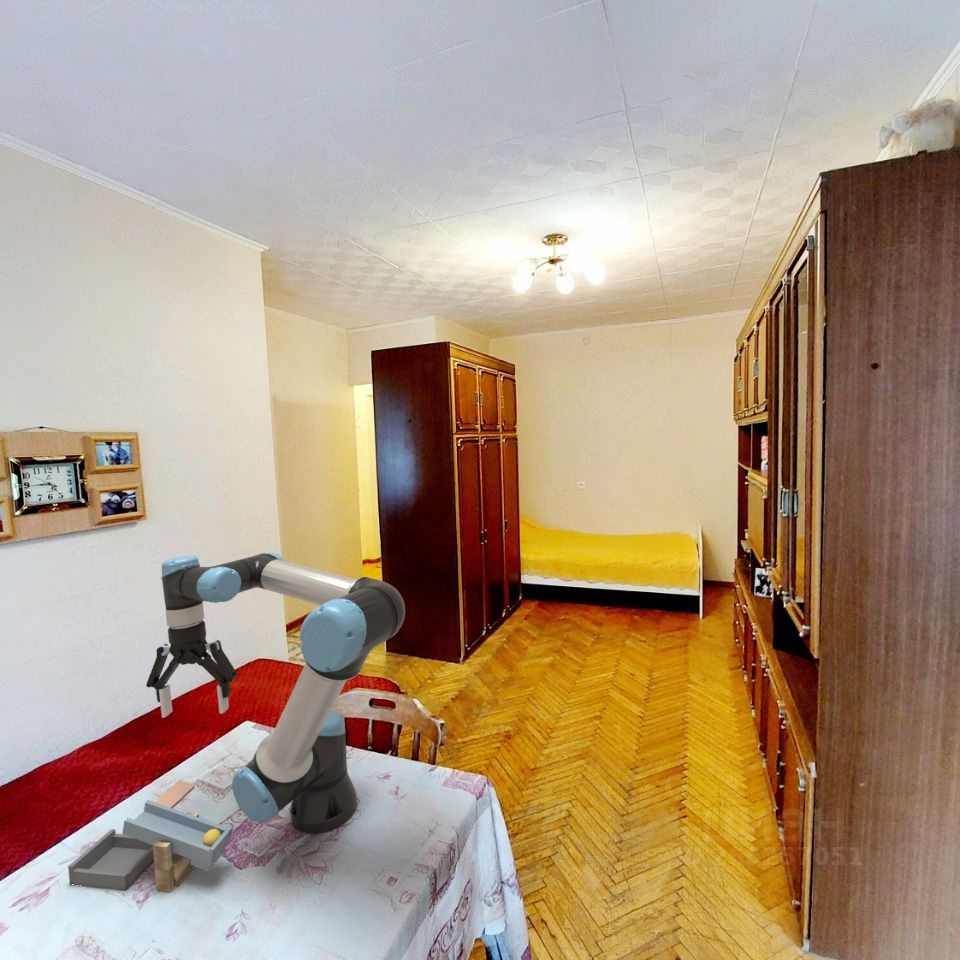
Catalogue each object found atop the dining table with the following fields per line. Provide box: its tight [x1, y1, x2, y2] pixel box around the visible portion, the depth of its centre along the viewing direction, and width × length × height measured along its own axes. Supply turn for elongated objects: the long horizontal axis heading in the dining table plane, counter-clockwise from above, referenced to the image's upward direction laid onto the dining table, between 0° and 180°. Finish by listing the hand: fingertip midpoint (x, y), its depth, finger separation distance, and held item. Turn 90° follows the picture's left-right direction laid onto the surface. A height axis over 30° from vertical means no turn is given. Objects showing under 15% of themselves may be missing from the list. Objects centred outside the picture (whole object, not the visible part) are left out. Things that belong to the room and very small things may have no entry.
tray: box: [67, 828, 154, 892], centre depth 105 cm, size 13×10×4 cm
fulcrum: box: [153, 812, 200, 893], centre depth 103 cm, size 4×9×10 cm, turn 171°
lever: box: [121, 779, 234, 872], centre depth 107 cm, size 20×16×5 cm
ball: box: [203, 829, 221, 847], centre depth 102 cm, size 3×3×3 cm
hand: (195, 712), depth 117 cm, fingers open, 13 cm apart
